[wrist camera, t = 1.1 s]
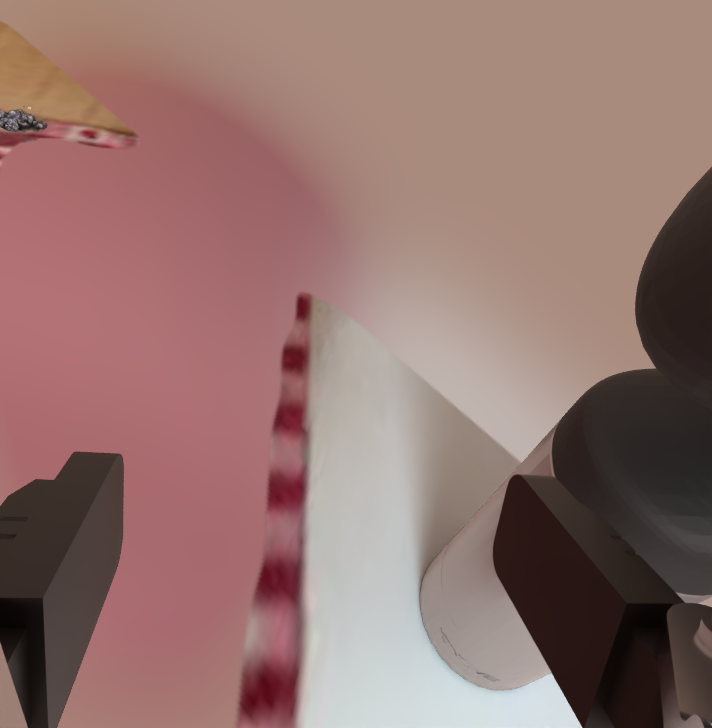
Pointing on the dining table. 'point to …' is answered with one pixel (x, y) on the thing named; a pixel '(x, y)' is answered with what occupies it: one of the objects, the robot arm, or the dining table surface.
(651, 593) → the robot arm
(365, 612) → the dining table surface
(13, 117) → the blueberries
